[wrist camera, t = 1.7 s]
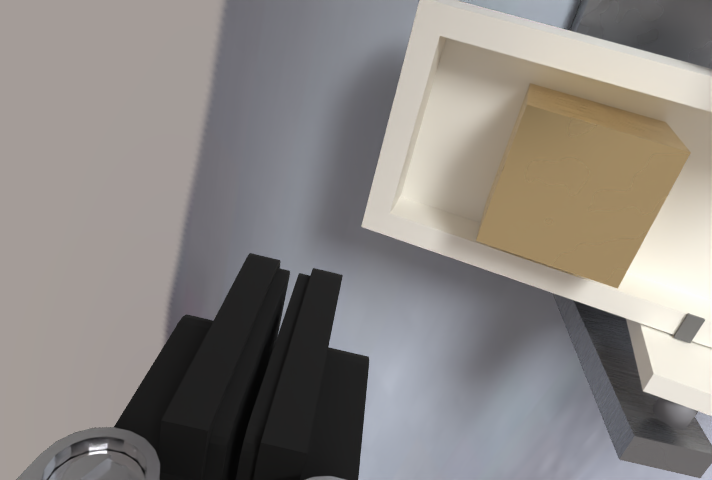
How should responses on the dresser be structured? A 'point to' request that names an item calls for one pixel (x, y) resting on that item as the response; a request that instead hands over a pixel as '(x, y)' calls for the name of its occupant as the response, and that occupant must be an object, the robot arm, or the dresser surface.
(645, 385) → the beam
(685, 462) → the stand
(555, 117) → the block
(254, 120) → the dresser surface
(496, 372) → the dresser surface
